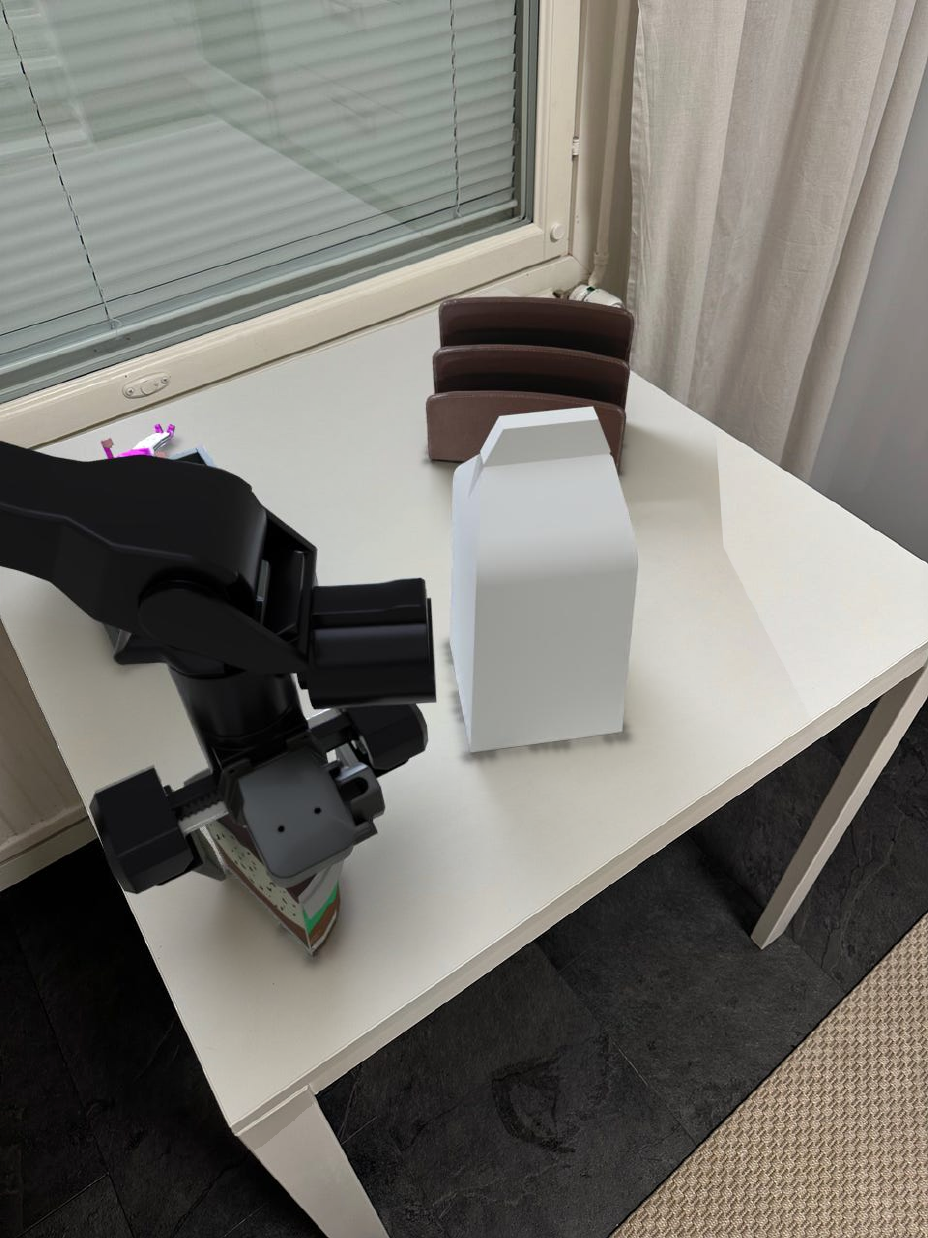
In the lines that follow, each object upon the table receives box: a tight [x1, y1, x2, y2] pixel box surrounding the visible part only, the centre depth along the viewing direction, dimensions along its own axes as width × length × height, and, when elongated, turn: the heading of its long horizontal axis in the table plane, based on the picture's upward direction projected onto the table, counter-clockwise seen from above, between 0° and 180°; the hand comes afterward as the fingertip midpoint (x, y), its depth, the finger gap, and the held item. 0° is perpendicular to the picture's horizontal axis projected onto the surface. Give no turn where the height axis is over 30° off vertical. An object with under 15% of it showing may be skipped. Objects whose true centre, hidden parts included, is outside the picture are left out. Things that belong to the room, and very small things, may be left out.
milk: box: [449, 406, 639, 754], centre depth 63 cm, size 12×12×26 cm
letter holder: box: [425, 295, 635, 474], centre depth 90 cm, size 10×20×14 cm, turn 82°
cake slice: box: [182, 767, 345, 957], centre depth 58 cm, size 12×6×10 cm, turn 47°
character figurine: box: [100, 423, 176, 459], centre depth 91 cm, size 6×5×12 cm
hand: (288, 840), depth 58 cm, fingers open, 9 cm apart
